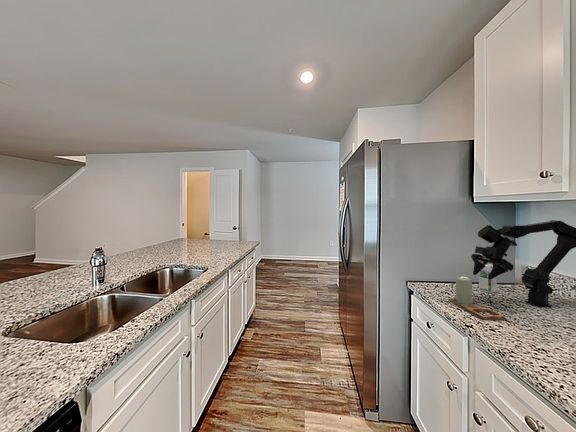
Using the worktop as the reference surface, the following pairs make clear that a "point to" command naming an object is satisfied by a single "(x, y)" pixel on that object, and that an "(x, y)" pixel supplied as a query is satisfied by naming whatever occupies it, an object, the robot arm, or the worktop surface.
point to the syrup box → (487, 280)
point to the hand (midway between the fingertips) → (481, 276)
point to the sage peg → (463, 291)
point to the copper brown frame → (478, 310)
